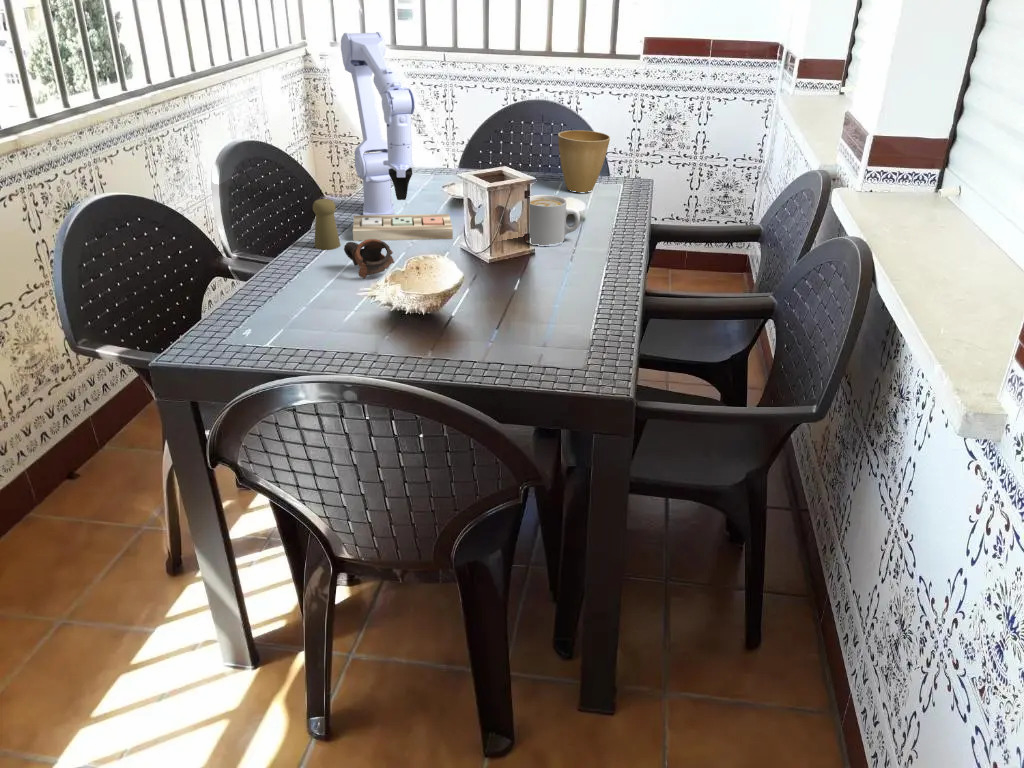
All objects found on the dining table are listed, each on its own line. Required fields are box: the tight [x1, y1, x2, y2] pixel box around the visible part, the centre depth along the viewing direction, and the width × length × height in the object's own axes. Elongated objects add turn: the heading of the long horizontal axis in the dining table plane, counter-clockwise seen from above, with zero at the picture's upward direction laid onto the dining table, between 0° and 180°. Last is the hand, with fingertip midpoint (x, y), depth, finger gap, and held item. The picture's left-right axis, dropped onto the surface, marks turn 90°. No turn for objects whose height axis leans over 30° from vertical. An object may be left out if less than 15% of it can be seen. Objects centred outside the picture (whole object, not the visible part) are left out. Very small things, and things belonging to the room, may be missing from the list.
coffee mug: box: [529, 194, 581, 245], centre depth 200 cm, size 13×10×10 cm
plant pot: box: [557, 129, 611, 192], centre depth 239 cm, size 15×15×16 cm
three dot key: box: [393, 217, 413, 226], centre depth 204 cm, size 5×5×3 cm
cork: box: [312, 198, 341, 251], centre depth 192 cm, size 6×6×11 cm
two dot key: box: [362, 218, 382, 226], centre depth 203 cm, size 5×5×3 cm
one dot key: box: [423, 217, 443, 225], centre depth 205 cm, size 5×5×3 cm
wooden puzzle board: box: [352, 213, 454, 242], centre depth 204 cm, size 12×24×2 cm, turn 98°
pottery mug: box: [343, 239, 395, 279], centre depth 180 cm, size 12×10×8 cm
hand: (401, 199), depth 201 cm, fingers closed
